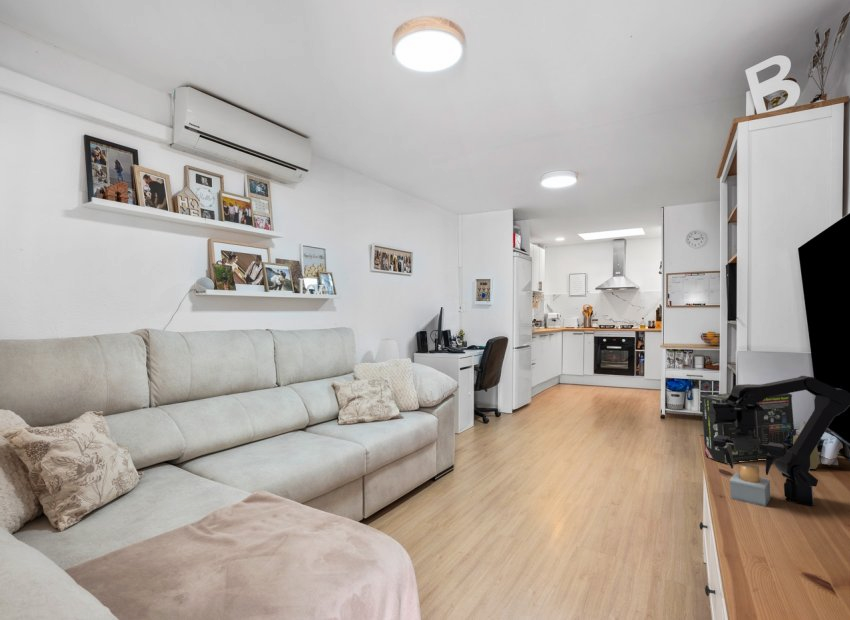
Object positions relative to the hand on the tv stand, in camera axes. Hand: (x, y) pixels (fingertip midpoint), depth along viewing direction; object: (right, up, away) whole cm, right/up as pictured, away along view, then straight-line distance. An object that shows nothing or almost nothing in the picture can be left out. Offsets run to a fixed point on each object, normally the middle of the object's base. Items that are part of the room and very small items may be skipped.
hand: (749, 471), depth 139 cm
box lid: (0, -3, 0) cm, 3 cm away
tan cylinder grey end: (0, -3, 0) cm, 3 cm away
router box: (+31, -10, +40) cm, 52 cm away
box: (0, -9, 0) cm, 9 cm away
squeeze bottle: (+42, -9, +25) cm, 50 cm away
